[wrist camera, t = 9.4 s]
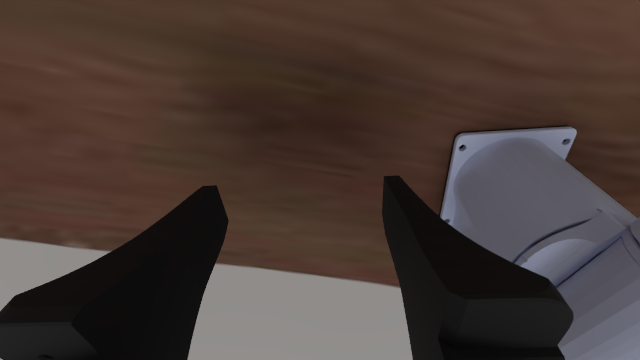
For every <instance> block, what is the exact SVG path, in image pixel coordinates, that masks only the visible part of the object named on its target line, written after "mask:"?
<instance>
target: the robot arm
mask: <svg viewBox="0 0 640 360" xmlns="http://www.w3.org/2000/svg"><path fill="white" fill-rule="evenodd" d="M576 134H577V131H576V130H575V129H574V128H572V127H553V128H537V129H521V130H504V131H488V132H472V133H461V134H459V135H458V136H457V137H456V138H455V142H454V147H453V152H452V157H451V163H450V168H449V173H448V178H447V183H446V188H445V194H444V199H443V204H442V209H441V214H440V217H439V216H438V215H437V214H436V213H435V212H434V211H433V210H432V209H430V208H429V207H428V206H427V205H426V204H425V203H424V202H423V201H422V200H421V199H420V198H419V197H418V196H417V195H416V194H415V193H414V192H413V190H412V189H411V188H410V187H409V186H408V185H407V184H406V183H405V182H404V180H403V179H402V178H401V177H400V176H384V187H383V207H382V216H383V222H384V228H385V234H386V238H387V241H388V245H389V248H390V252H391V255H392V259H393V262H394V265H395V269H396V272H397V276H398V279H399V283H400V287H401V292H402V297H403V303H404V308H405V314H406V320H407V325H408V331H409V337H410V344H411V350H412V356H413V360H640V217H639V218H636V217H635V216H634V215H633V214H631V213H630V212H629V211H628V210H626V209H625V208H624V207H623V206H621V205H620V204H619V203H618V202H616V201H615V200H614V199H613V198H611V197H610V196H609V195H608V194H606V193H605V192H604V191H603V190H601V189H600V188H599V187H598V186H596V185H595V184H594V183H593V182H591V181H590V180H589V179H588V178H586V177H585V176H584V175H583V174H581V173H580V172H579V171H578V170H576V169H575V168H574V167H573V166H571V165H570V164H569V163H568V162H566V161H565V159H566V157H567V154H568V152H569V150H570V148H571V145H572V143H573V141H574V139H575V136H576ZM565 139H566V141H564V142H563V140H565ZM461 145H464V147H463V148H460V149H459V147H460V146H461ZM446 219H448V220H446ZM228 221H229V220H228V217H227V215H226V212H225V209H224V206H223V203H222V200H221V197H220V194H219V191H218V188H217V185H215V186H203V187H201V188H200V189H198V190H197V191H196V192H194V193H193V194H192V195H191V196H189V197H188V198H187V199H186V200H184V201H183V202H182V203H181V204H179V205H178V206H177V207H176V208H174V209H173V210H172V211H171V212H169V213H168V214H167V215H166V216H164V217H163V218H162V219H160V220H159V221H158V222H156V223H155V224H153V225H152V226H151V227H149V228H148V229H147V230H145V231H144V232H142V233H141V234H139V235H138V236H136V237H135V238H133V239H132V240H130V241H129V242H127V243H125V244H124V245H122V246H120V247H119V248H117V249H115V250H113V251H112V252H110V253H108V254H106V255H104V256H103V257H101V258H99V259H97V260H95V261H94V262H92V263H90V264H87V265H85V266H84V267H82V268H79V269H77V270H75V271H73V272H71V273H69V274H67V275H64V276H62V277H60V278H57V279H55V280H53V281H50V282H48V283H46V284H43V285H41V286H38V287H36V288H33V289H31V290H28V291H26V292H24V293H21V294H18V295H16V296H14V297H13V298H12V300H11V301H10V302H9V303H8V304H7V305H6V306H5V307H4V308H3V309H2V310H1V311H0V358H1V359H3V360H187V358H188V354H189V349H190V344H191V339H192V336H193V331H194V327H195V323H196V319H197V315H198V312H199V308H200V304H201V301H202V297H203V294H204V291H205V288H206V285H207V283H208V280H209V278H210V275H211V273H212V270H213V268H214V265H215V263H216V260H217V258H218V255H219V252H220V250H221V247H222V245H223V242H224V238H225V234H226V230H227V226H228Z"/></svg>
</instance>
